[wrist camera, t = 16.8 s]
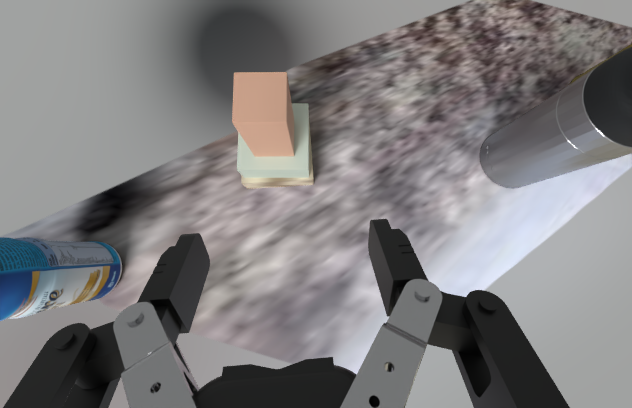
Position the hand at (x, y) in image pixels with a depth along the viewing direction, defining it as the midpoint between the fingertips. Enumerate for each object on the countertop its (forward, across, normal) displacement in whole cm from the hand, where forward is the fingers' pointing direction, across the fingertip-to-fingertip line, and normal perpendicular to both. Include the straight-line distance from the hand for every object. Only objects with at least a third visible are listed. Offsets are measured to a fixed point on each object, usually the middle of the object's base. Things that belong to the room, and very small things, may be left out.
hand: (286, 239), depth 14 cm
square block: (+25, +3, +5) cm, 25 cm away
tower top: (+28, +3, +8) cm, 29 cm away
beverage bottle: (+20, +30, +21) cm, 42 cm away
